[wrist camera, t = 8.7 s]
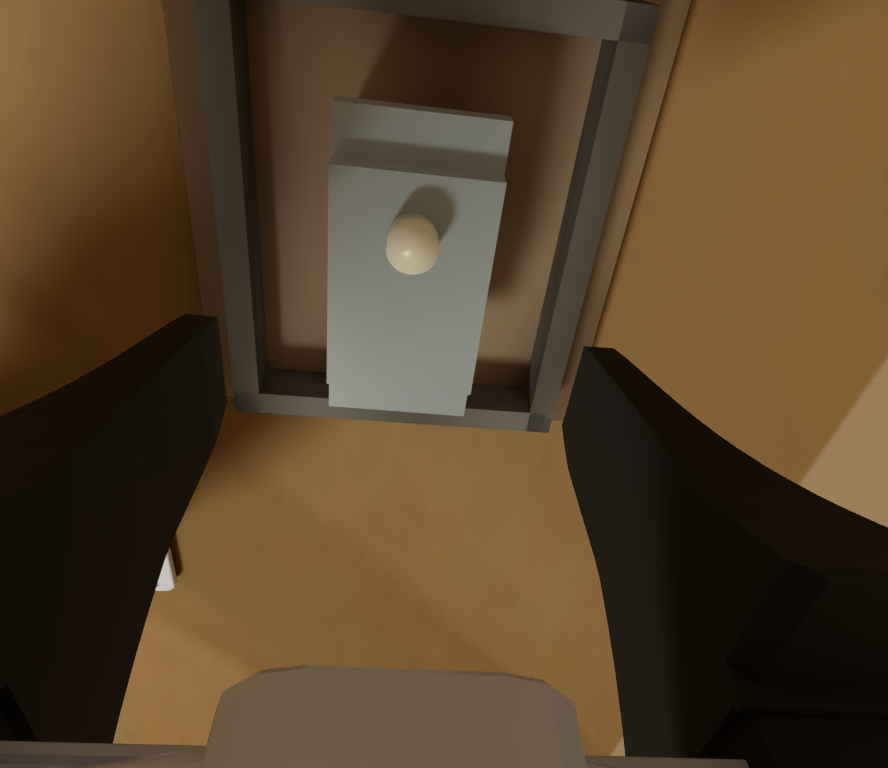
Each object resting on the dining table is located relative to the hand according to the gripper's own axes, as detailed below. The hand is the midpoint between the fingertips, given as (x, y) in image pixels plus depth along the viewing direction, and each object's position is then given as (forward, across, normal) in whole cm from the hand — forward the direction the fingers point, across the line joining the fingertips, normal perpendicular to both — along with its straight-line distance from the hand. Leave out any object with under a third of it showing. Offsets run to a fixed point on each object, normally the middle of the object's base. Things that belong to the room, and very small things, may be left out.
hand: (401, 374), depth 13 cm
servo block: (+8, 0, 0) cm, 8 cm away
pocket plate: (+9, 0, 0) cm, 9 cm away
